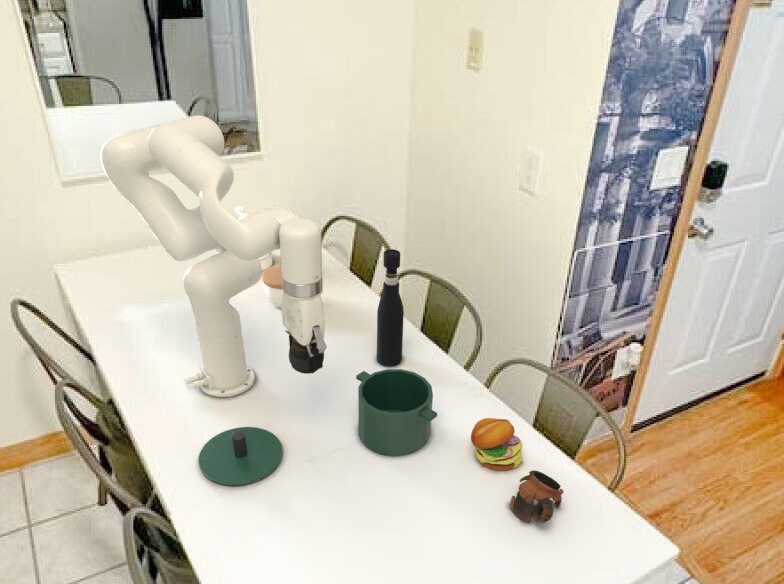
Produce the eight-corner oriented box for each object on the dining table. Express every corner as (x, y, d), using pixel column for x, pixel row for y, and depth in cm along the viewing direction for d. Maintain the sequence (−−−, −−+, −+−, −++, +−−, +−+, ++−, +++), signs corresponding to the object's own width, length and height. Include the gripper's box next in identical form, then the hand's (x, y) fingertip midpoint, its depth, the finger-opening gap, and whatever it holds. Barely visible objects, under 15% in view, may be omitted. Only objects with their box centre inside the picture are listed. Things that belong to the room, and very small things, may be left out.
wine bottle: (398, 368, 161) (402, 260, 144) (373, 364, 162) (374, 256, 145) (404, 354, 166) (408, 248, 149) (380, 350, 167) (382, 245, 150)
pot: (406, 473, 131) (408, 431, 125) (335, 427, 142) (333, 386, 135) (453, 436, 141) (457, 395, 135) (383, 395, 152) (384, 355, 145)
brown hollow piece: (500, 496, 128) (519, 461, 126) (538, 509, 131) (558, 476, 130) (520, 531, 117) (542, 494, 115) (561, 545, 120) (583, 509, 119)
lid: (232, 500, 123) (228, 477, 119) (182, 459, 131) (177, 436, 127) (299, 456, 133) (297, 434, 130) (249, 420, 142) (246, 398, 138)
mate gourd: (330, 372, 133) (330, 332, 127) (296, 382, 130) (294, 341, 124) (315, 354, 138) (314, 314, 132) (282, 363, 134) (279, 323, 128)
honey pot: (223, 269, 198) (215, 214, 188) (240, 252, 209) (234, 199, 198) (263, 275, 197) (257, 219, 186) (278, 257, 207) (273, 204, 197)
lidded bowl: (318, 300, 186) (316, 266, 180) (288, 318, 177) (285, 283, 171) (286, 287, 191) (283, 254, 185) (255, 304, 182) (251, 269, 176)
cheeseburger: (510, 482, 131) (505, 442, 126) (465, 470, 136) (458, 431, 132) (531, 453, 138) (527, 415, 133) (487, 443, 144) (482, 406, 139)
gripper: (265, 269, 126) (271, 343, 136) (305, 310, 115) (308, 387, 125) (300, 261, 130) (303, 334, 140) (342, 299, 119) (342, 375, 129)
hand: (306, 358), depth 132 cm, fingers closed on mate gourd, 7 cm apart
